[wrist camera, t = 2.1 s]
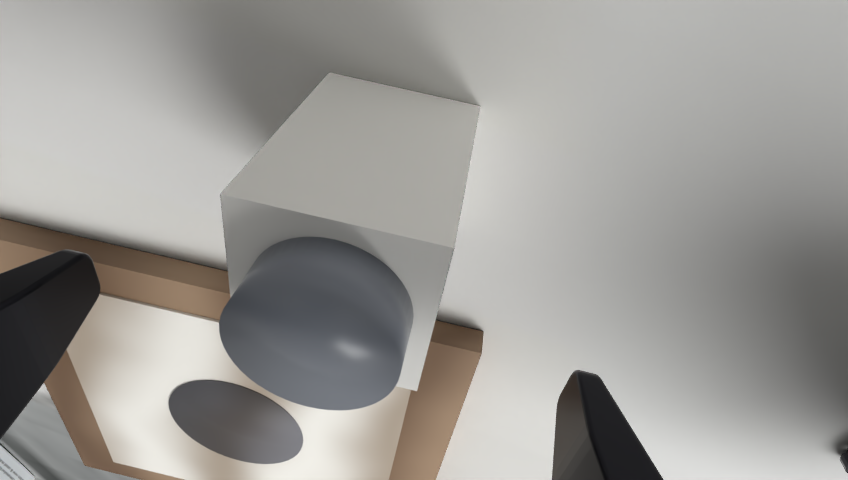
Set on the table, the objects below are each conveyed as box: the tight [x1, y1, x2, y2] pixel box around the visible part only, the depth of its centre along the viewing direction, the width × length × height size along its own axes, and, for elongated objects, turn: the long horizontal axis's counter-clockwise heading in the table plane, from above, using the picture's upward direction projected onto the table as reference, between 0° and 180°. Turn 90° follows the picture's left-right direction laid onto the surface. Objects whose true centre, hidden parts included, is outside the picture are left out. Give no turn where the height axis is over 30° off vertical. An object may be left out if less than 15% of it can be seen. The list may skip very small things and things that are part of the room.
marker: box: [219, 72, 480, 411], centre depth 12 cm, size 4×4×7 cm
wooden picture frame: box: [0, 218, 483, 480], centre depth 23 cm, size 18×16×1 cm
